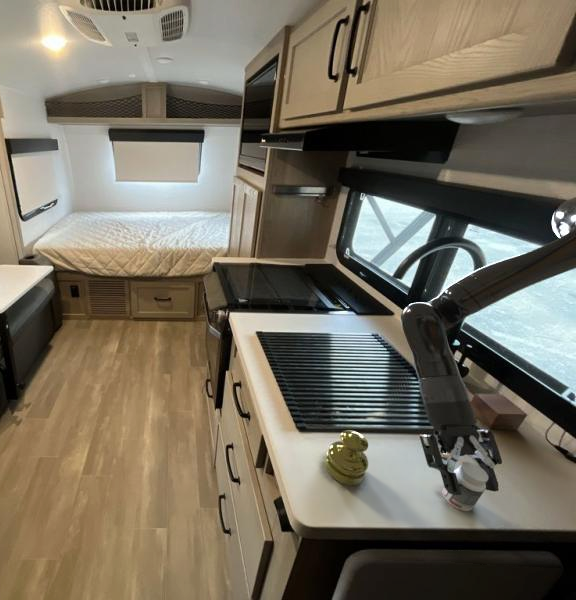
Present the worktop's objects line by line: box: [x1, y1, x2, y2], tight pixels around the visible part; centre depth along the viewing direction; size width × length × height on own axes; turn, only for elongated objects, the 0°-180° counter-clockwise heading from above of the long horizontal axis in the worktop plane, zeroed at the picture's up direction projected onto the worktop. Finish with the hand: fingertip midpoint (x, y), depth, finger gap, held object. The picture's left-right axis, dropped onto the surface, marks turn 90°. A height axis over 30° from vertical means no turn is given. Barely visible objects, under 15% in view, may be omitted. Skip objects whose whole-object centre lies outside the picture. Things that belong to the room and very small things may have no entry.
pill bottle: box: [442, 461, 488, 512], centre depth 63 cm, size 5×5×8 cm
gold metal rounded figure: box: [324, 429, 369, 486], centre depth 68 cm, size 7×7×10 cm
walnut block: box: [470, 393, 528, 431], centre depth 84 cm, size 7×7×5 cm
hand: (473, 492), depth 62 cm, fingers open, 7 cm apart
